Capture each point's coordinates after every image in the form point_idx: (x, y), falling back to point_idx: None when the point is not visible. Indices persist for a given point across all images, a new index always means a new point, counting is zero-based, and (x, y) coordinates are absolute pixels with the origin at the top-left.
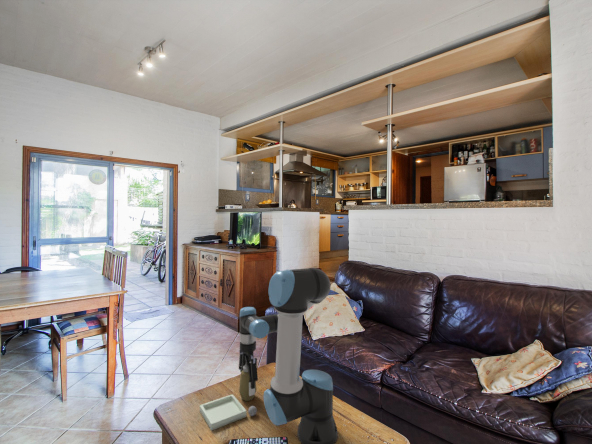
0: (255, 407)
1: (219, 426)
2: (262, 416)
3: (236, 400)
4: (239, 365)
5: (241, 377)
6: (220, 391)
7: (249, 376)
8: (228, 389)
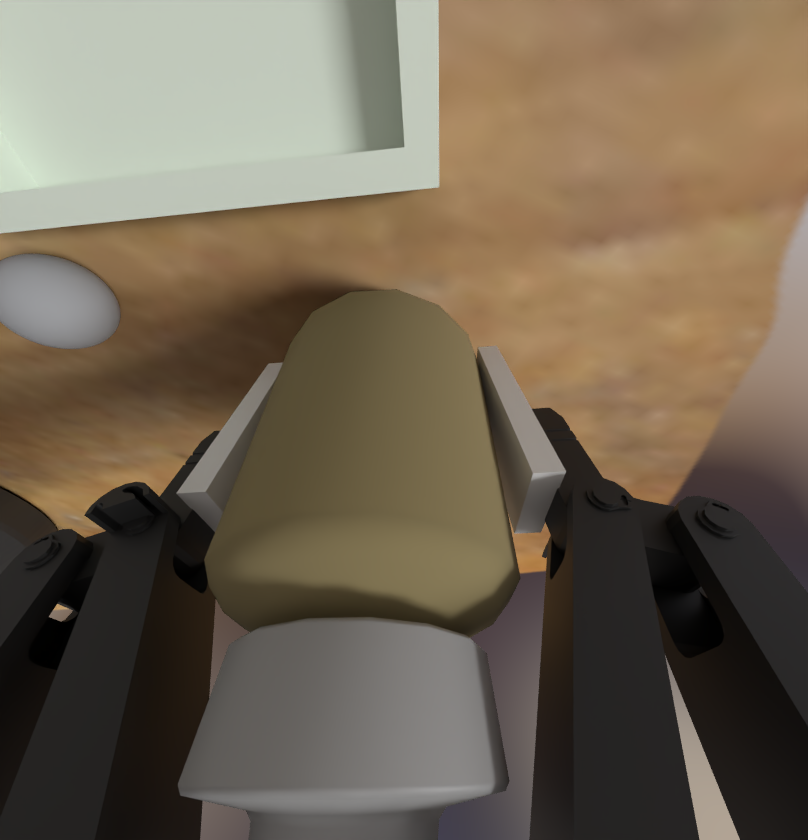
0: (41, 344)
1: None
2: (84, 356)
3: (252, 185)
4: (776, 609)
5: (330, 441)
6: (740, 67)
7: (139, 585)
8: (664, 216)
